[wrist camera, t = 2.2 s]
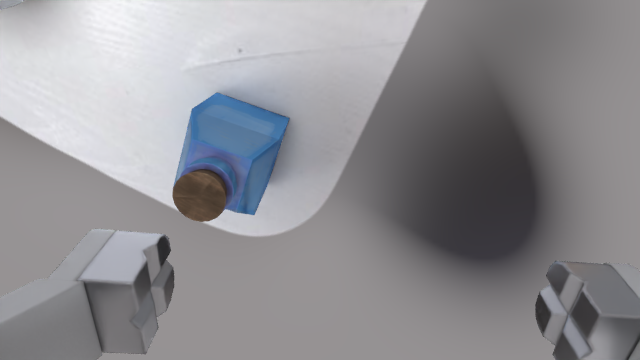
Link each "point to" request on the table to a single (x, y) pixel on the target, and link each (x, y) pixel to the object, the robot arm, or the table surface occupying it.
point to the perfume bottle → (226, 158)
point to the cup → (9, 3)
